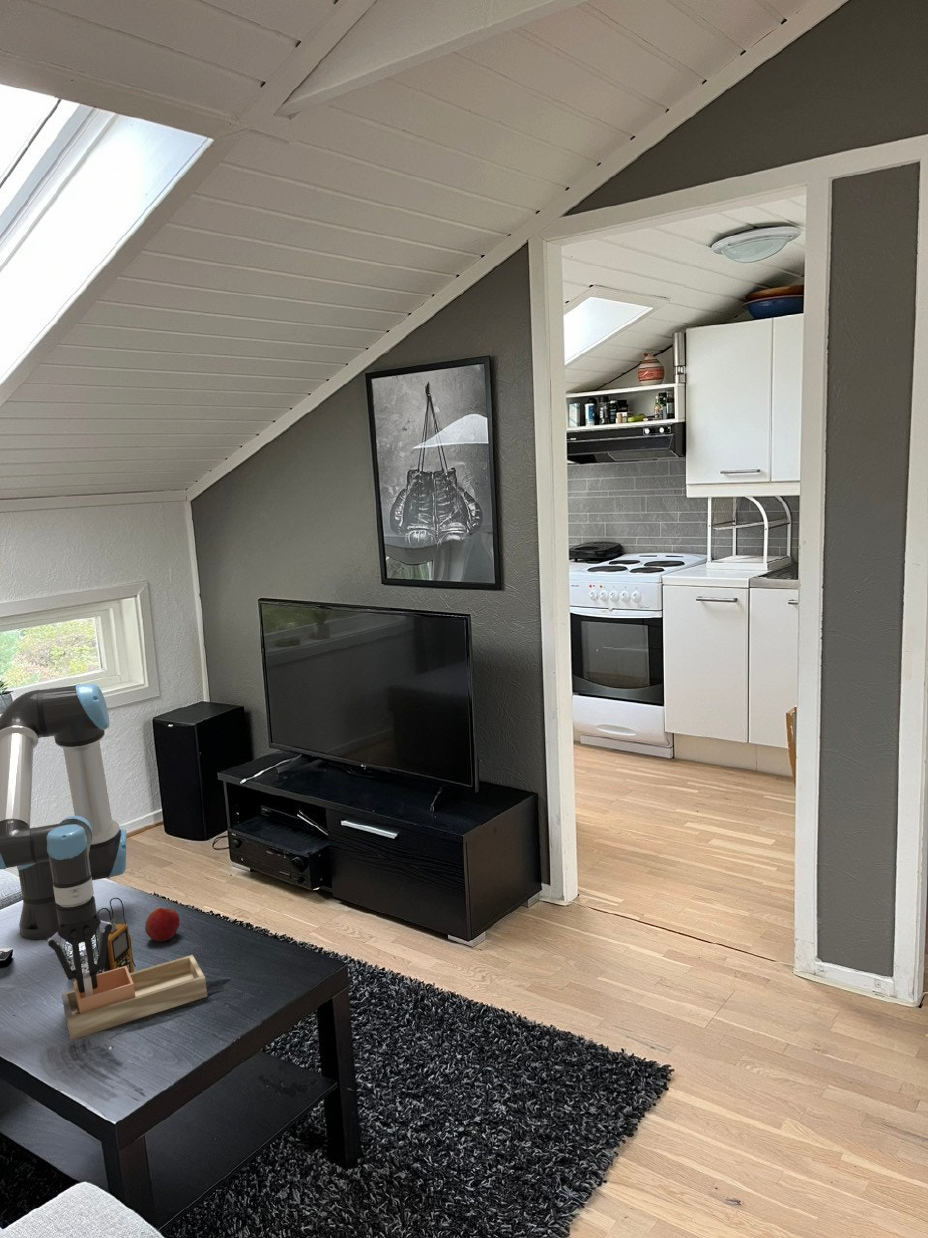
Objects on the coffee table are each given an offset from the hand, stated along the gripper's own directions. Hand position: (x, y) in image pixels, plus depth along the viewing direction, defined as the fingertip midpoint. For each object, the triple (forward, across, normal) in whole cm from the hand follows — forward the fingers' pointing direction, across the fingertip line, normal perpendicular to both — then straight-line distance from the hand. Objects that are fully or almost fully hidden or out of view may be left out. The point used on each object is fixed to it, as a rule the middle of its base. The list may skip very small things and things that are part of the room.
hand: (90, 1003), depth 203 cm
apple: (+4, +21, +27) cm, 34 cm away
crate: (+2, +3, 0) cm, 4 cm away
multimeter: (+4, +10, +9) cm, 15 cm away
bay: (+3, +9, 0) cm, 10 cm away
